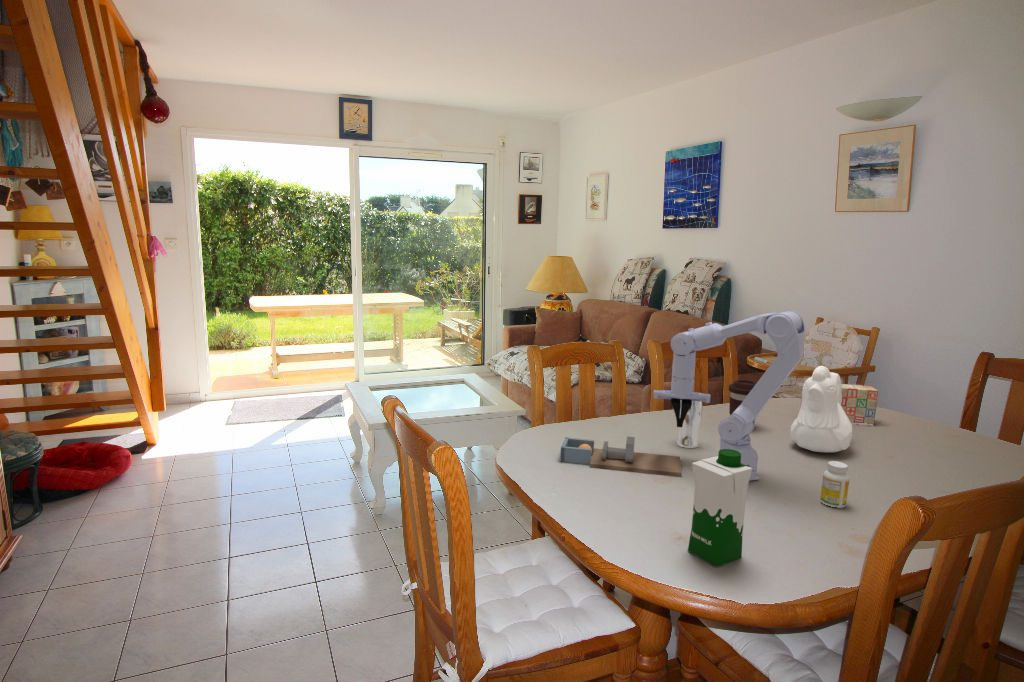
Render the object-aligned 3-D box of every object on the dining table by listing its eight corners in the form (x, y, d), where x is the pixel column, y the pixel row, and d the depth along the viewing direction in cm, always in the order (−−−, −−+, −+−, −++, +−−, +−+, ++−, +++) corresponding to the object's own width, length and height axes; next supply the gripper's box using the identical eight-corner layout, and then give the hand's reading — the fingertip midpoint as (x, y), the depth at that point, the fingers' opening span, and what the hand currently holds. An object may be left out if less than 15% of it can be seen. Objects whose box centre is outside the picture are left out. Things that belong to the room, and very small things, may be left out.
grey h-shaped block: (633, 454, 166) (634, 437, 166) (632, 462, 161) (633, 444, 160) (603, 451, 168) (604, 434, 167) (602, 459, 162) (602, 441, 161)
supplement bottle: (828, 509, 138) (833, 468, 137) (815, 499, 144) (819, 459, 142) (851, 508, 139) (856, 468, 137) (836, 498, 144) (841, 459, 143)
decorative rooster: (830, 464, 166) (841, 374, 162) (775, 447, 178) (784, 363, 174) (872, 446, 181) (883, 364, 176) (819, 432, 193) (828, 354, 189)
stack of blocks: (804, 421, 205) (807, 385, 203) (799, 416, 211) (802, 381, 209) (874, 426, 201) (878, 390, 199) (867, 421, 207) (871, 385, 205)
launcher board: (679, 460, 167) (679, 456, 167) (681, 476, 155) (681, 472, 155) (594, 451, 172) (594, 448, 172) (589, 467, 160) (589, 463, 160)
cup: (593, 453, 170) (594, 440, 169) (590, 464, 162) (591, 450, 161) (564, 451, 172) (565, 437, 171) (560, 461, 164) (560, 447, 163)
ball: (582, 464, 166) (595, 458, 165) (575, 454, 164) (589, 449, 163) (580, 453, 169) (593, 448, 168) (574, 444, 167) (587, 438, 166)
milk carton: (748, 558, 116) (758, 457, 113) (716, 571, 112) (725, 466, 108) (711, 538, 124) (719, 443, 120) (679, 550, 119) (687, 451, 116)
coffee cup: (718, 425, 199) (722, 379, 196) (741, 421, 203) (745, 377, 200) (741, 434, 190) (746, 387, 187) (765, 430, 194) (770, 384, 191)
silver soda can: (697, 441, 182) (700, 392, 180) (701, 449, 175) (705, 398, 173) (673, 440, 183) (676, 391, 180) (677, 448, 176) (680, 397, 173)
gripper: (710, 375, 166) (706, 424, 168) (655, 371, 169) (652, 419, 171) (712, 381, 159) (708, 432, 161) (654, 377, 162) (651, 427, 164)
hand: (679, 426), depth 166 cm, fingers closed
